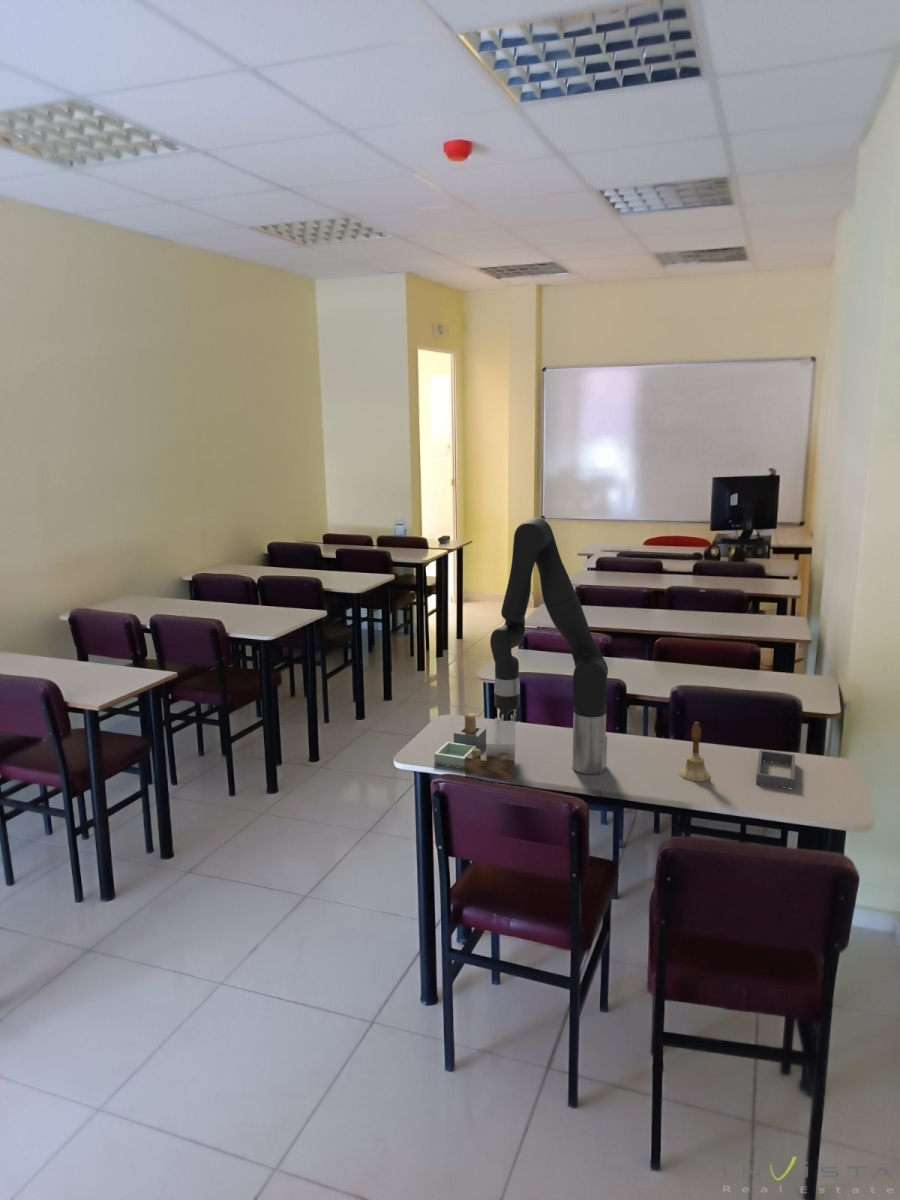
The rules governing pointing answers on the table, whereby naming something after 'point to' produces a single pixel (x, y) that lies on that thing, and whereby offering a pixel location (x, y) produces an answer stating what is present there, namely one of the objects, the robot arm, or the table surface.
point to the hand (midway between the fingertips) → (507, 745)
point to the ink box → (500, 738)
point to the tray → (453, 754)
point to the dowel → (470, 723)
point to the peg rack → (490, 766)
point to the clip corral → (772, 779)
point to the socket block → (471, 737)
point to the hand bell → (695, 760)
